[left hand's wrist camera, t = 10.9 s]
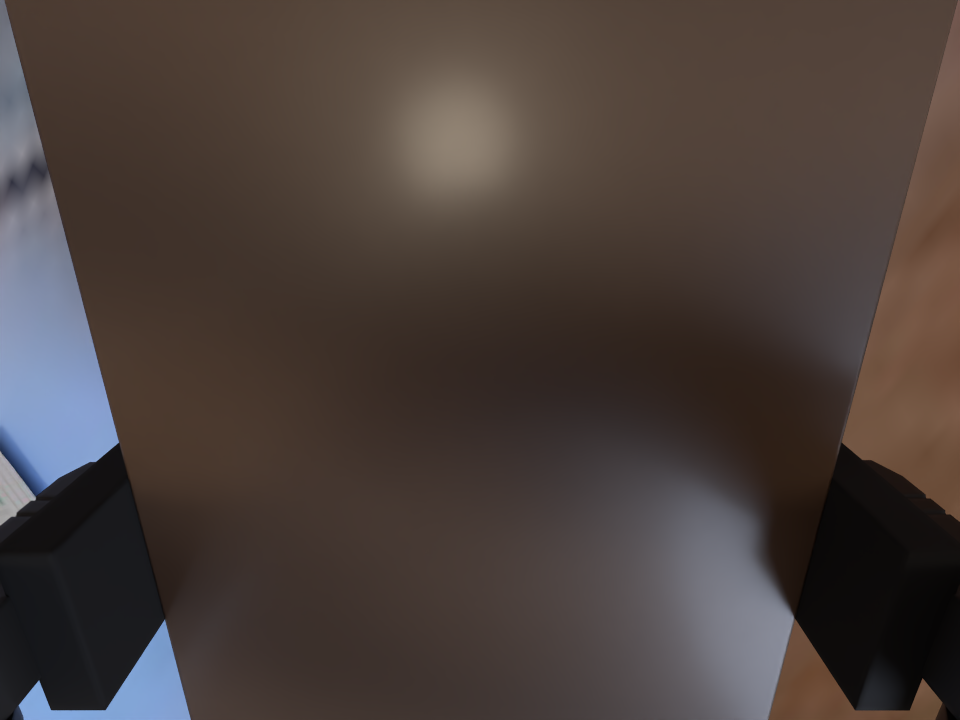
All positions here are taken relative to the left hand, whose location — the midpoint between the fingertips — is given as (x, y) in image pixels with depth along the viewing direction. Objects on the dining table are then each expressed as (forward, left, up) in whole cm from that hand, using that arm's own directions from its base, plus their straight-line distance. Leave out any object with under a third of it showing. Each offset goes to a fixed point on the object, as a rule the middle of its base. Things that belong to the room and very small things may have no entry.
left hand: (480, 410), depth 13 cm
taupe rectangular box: (0, +4, -4) cm, 6 cm away
